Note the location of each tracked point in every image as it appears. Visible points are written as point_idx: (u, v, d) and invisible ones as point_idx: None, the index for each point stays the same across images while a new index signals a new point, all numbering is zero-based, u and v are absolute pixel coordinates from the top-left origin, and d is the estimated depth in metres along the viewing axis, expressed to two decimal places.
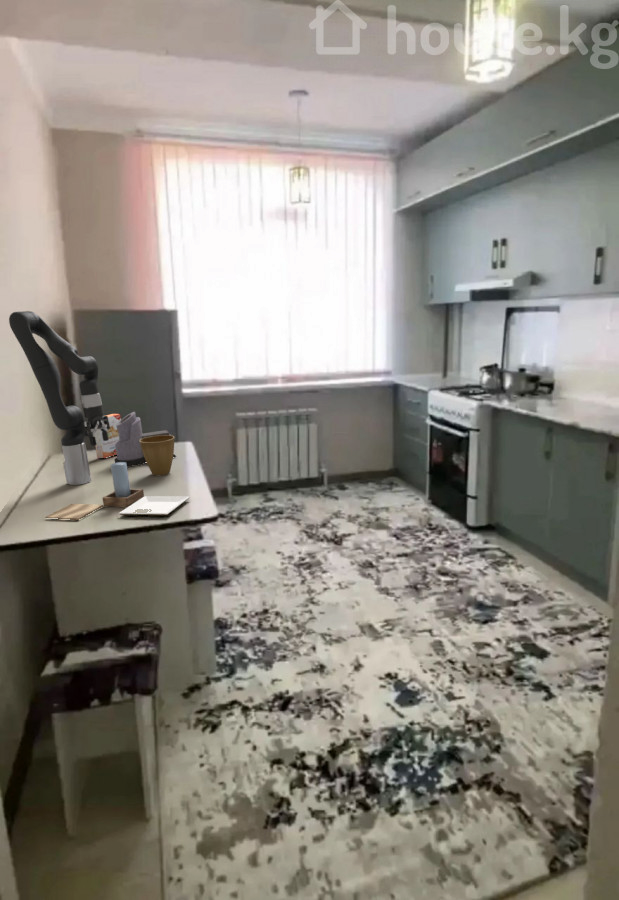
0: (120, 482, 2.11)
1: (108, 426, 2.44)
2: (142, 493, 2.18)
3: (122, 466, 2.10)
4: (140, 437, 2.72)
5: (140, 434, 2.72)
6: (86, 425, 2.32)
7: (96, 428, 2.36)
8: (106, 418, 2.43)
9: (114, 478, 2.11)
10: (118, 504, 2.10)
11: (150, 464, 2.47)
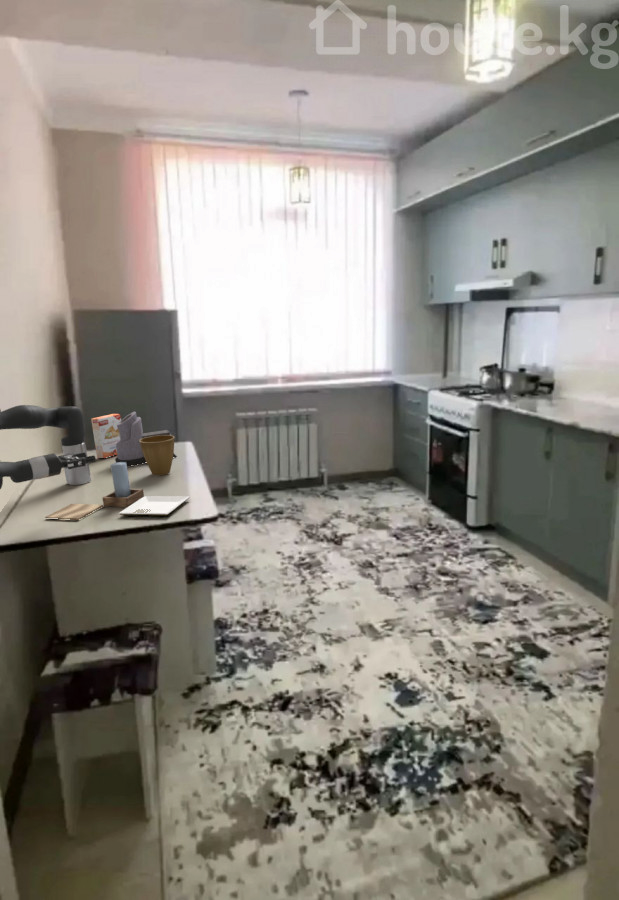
0: (120, 482, 2.11)
1: (67, 454, 2.05)
2: (142, 493, 2.18)
3: (122, 466, 2.10)
4: (141, 437, 2.73)
5: (141, 434, 2.73)
6: (72, 463, 1.94)
7: (73, 457, 1.98)
8: None
9: (114, 478, 2.11)
10: (118, 504, 2.10)
11: (150, 464, 2.47)
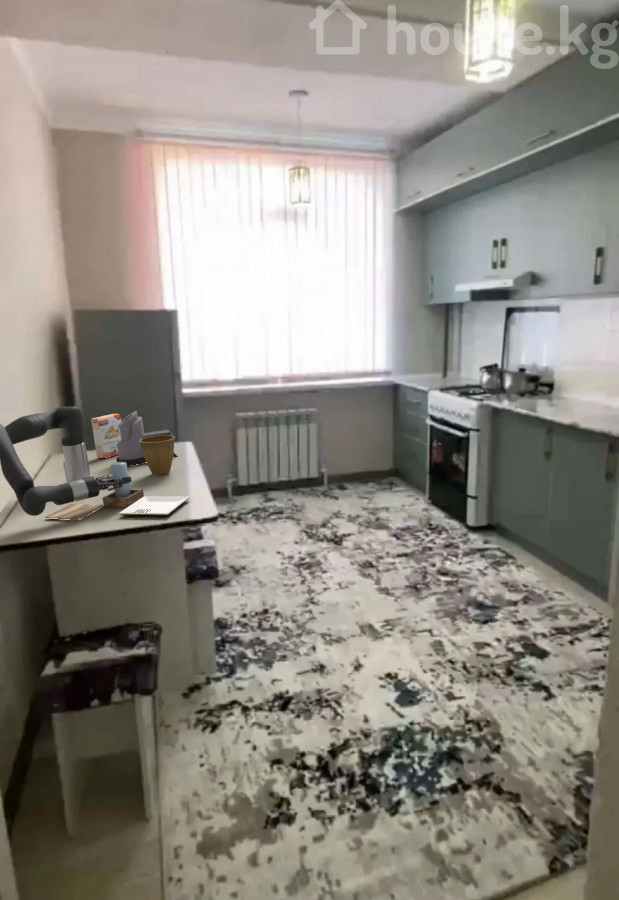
0: None
1: (106, 476, 2.15)
2: (142, 493, 2.18)
3: (122, 466, 2.10)
4: (141, 437, 2.73)
5: (142, 434, 2.73)
6: (112, 485, 2.05)
7: (110, 479, 2.09)
8: (96, 478, 2.13)
9: (114, 478, 2.11)
10: (118, 504, 2.10)
11: (150, 464, 2.47)
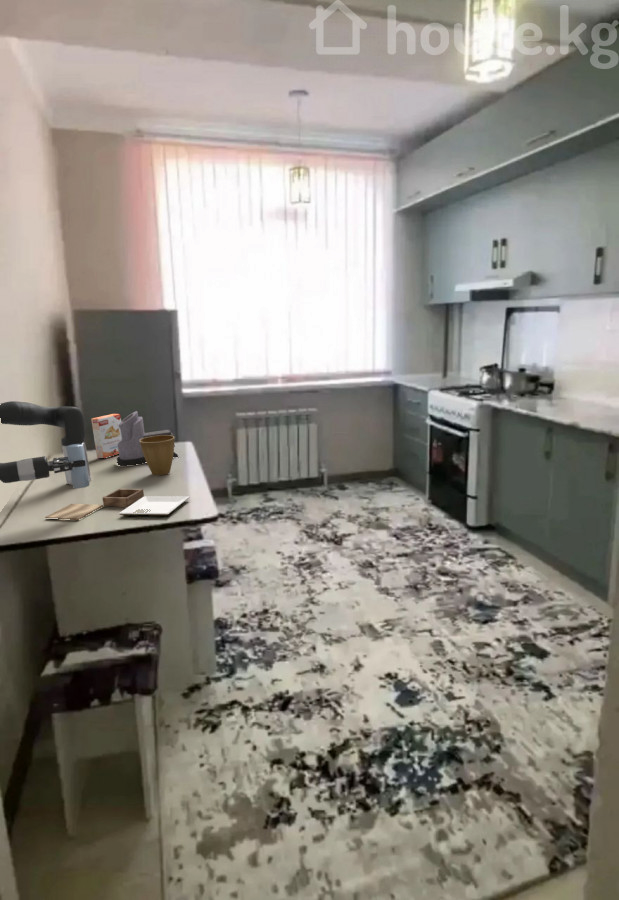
0: None
1: (66, 457, 2.07)
2: (142, 493, 2.18)
3: (75, 448, 2.00)
4: (142, 436, 2.73)
5: (142, 433, 2.73)
6: (58, 468, 1.96)
7: (62, 460, 2.00)
8: (55, 458, 2.06)
9: (68, 460, 2.02)
10: (118, 504, 2.10)
11: (150, 464, 2.47)
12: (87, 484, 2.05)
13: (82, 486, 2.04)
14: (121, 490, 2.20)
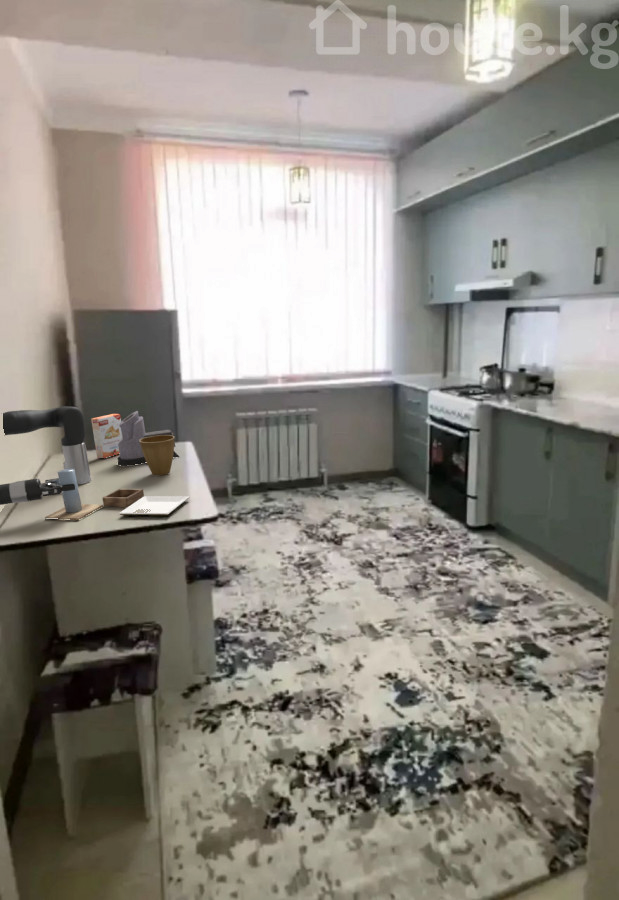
0: None
1: (58, 478, 2.09)
2: (142, 493, 2.18)
3: (66, 473, 2.01)
4: (143, 436, 2.74)
5: (143, 433, 2.74)
6: (46, 491, 1.96)
7: (53, 483, 2.00)
8: (48, 480, 2.07)
9: None
10: (118, 504, 2.10)
11: (150, 464, 2.47)
12: (79, 509, 2.06)
13: (74, 511, 2.04)
14: (121, 490, 2.20)
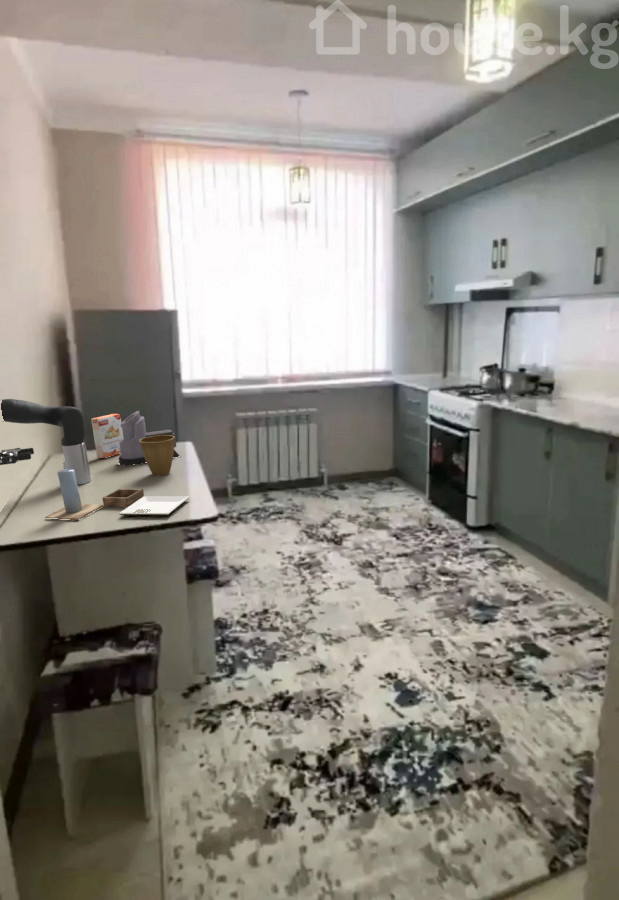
0: (65, 490, 2.02)
1: (15, 448, 2.02)
2: (142, 493, 2.18)
3: (66, 474, 2.01)
4: (144, 436, 2.74)
5: (144, 433, 2.74)
6: None
7: (8, 453, 1.93)
8: None
9: (60, 485, 2.03)
10: (118, 504, 2.10)
11: (150, 464, 2.47)
12: (79, 509, 2.06)
13: (74, 511, 2.04)
14: (121, 490, 2.20)
